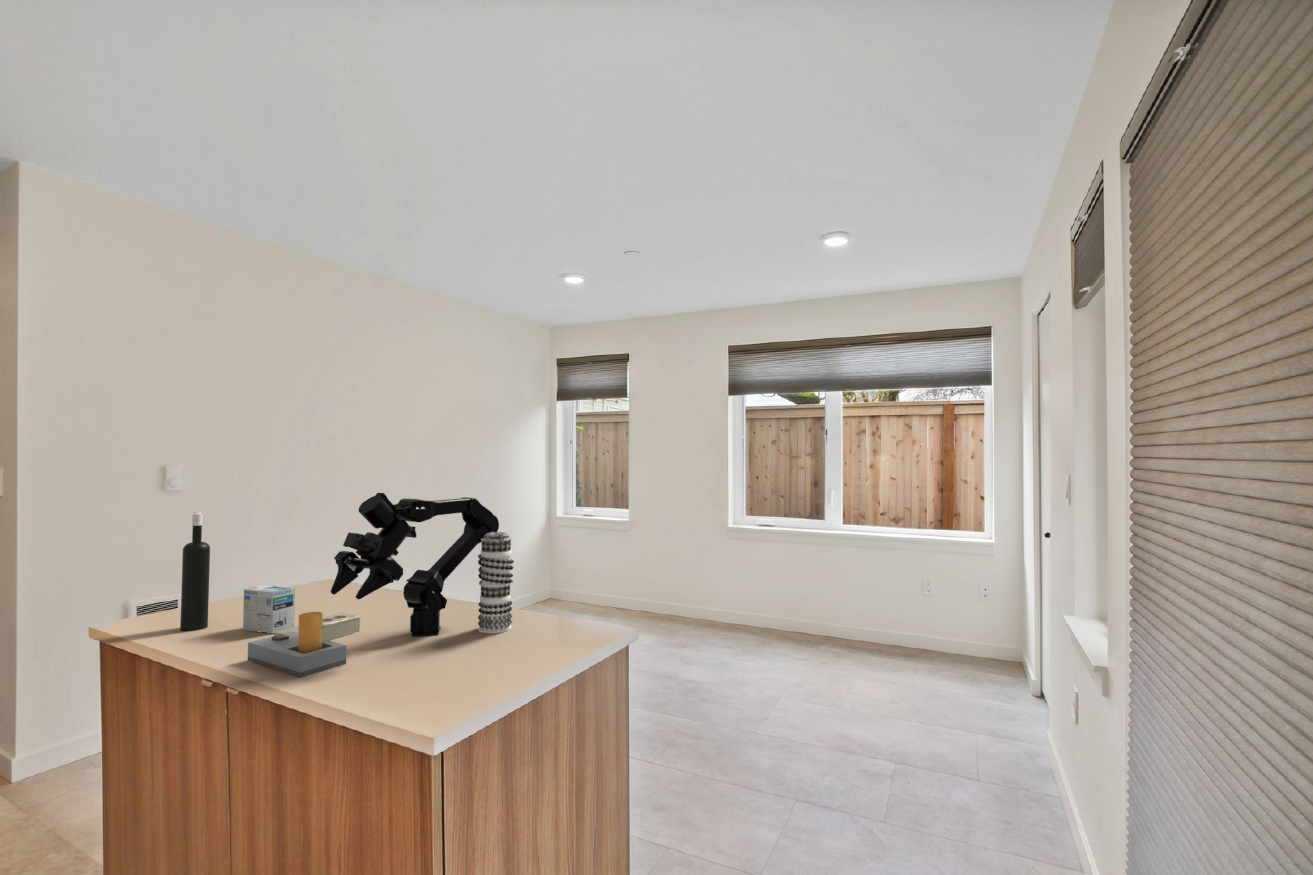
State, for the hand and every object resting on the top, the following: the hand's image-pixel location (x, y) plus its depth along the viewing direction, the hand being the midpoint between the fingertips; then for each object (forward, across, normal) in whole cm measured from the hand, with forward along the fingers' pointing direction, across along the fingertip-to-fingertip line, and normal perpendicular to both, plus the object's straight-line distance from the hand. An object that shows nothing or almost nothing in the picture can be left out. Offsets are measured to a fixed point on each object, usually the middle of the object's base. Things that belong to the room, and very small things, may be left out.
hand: (344, 595), depth 141 cm
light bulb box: (+7, -37, +12) cm, 40 cm away
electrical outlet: (+6, -18, +13) cm, 23 cm away
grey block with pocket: (+15, -5, +4) cm, 16 cm away
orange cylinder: (+14, 0, +3) cm, 15 cm away
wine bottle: (+14, -54, +6) cm, 56 cm away
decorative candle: (-14, +12, +34) cm, 39 cm away
